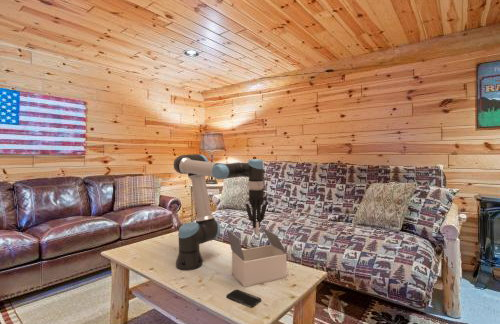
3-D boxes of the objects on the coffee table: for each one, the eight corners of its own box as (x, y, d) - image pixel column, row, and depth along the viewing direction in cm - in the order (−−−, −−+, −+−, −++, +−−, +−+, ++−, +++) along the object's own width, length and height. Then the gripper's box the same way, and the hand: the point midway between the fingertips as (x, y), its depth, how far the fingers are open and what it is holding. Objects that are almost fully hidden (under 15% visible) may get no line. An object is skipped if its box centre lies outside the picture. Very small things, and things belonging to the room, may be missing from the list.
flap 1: (232, 250, 152) (231, 250, 152) (227, 229, 150) (226, 229, 150) (244, 260, 138) (243, 261, 138) (239, 238, 136) (238, 238, 136)
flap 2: (261, 227, 159) (262, 227, 159) (271, 244, 162) (271, 243, 162) (276, 235, 145) (276, 234, 145) (285, 253, 148) (286, 252, 148)
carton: (232, 274, 153) (232, 251, 152) (271, 265, 163) (271, 244, 162) (244, 287, 139) (244, 262, 138) (286, 277, 149) (286, 254, 148)
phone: (236, 289, 136) (262, 298, 127) (236, 291, 136) (262, 301, 127) (225, 295, 129) (251, 306, 120) (225, 298, 129) (251, 309, 120)
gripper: (247, 190, 142) (248, 237, 143) (270, 189, 147) (271, 234, 148) (241, 189, 148) (242, 233, 150) (264, 187, 154) (264, 230, 155)
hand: (256, 233), depth 149 cm, fingers closed
